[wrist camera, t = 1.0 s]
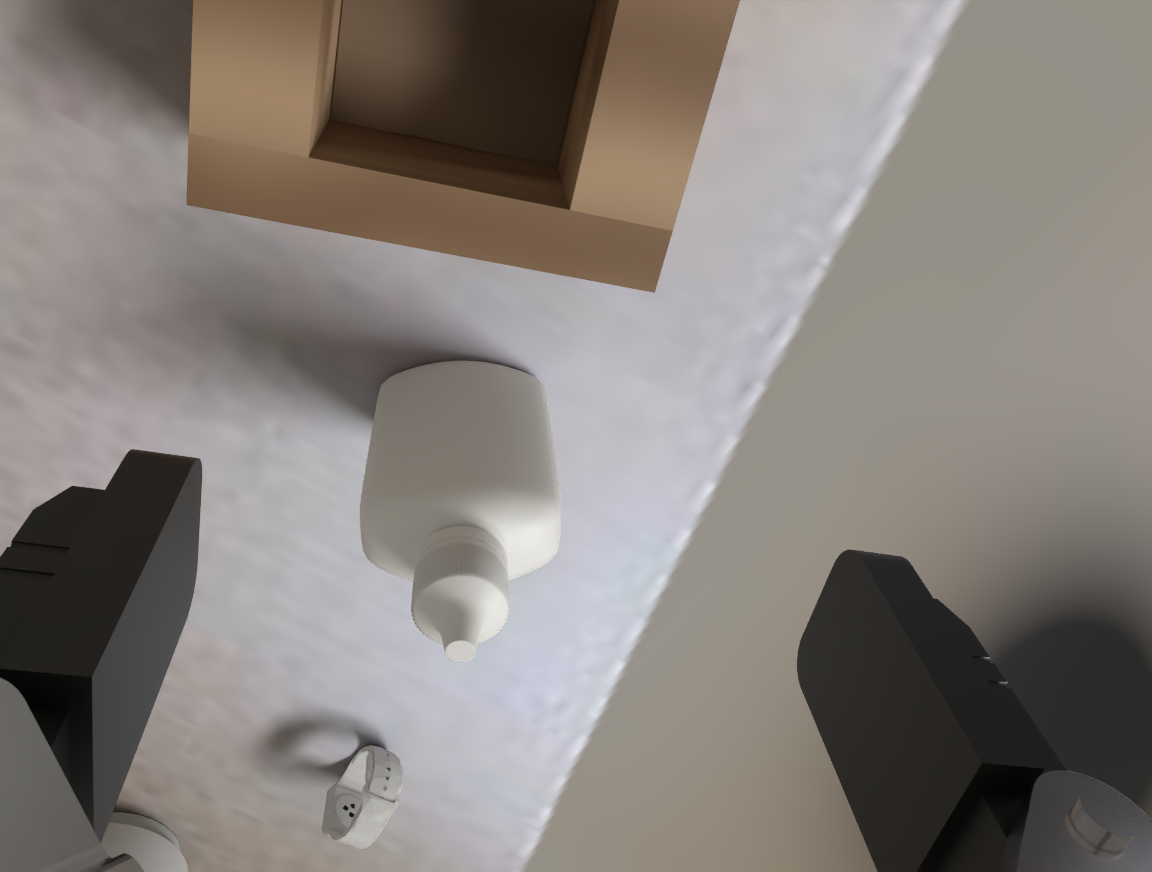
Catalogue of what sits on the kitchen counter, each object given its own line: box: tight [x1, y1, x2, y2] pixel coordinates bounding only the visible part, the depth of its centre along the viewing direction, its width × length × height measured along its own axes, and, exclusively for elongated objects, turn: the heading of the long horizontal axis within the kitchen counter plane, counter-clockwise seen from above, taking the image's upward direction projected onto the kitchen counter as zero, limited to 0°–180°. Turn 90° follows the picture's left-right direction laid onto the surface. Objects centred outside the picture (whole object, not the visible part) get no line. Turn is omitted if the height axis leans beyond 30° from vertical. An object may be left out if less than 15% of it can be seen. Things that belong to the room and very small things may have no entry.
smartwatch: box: [322, 745, 404, 849], centre depth 39 cm, size 4×2×4 cm, turn 143°
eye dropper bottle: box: [360, 361, 562, 663], centre depth 28 cm, size 4×6×12 cm
